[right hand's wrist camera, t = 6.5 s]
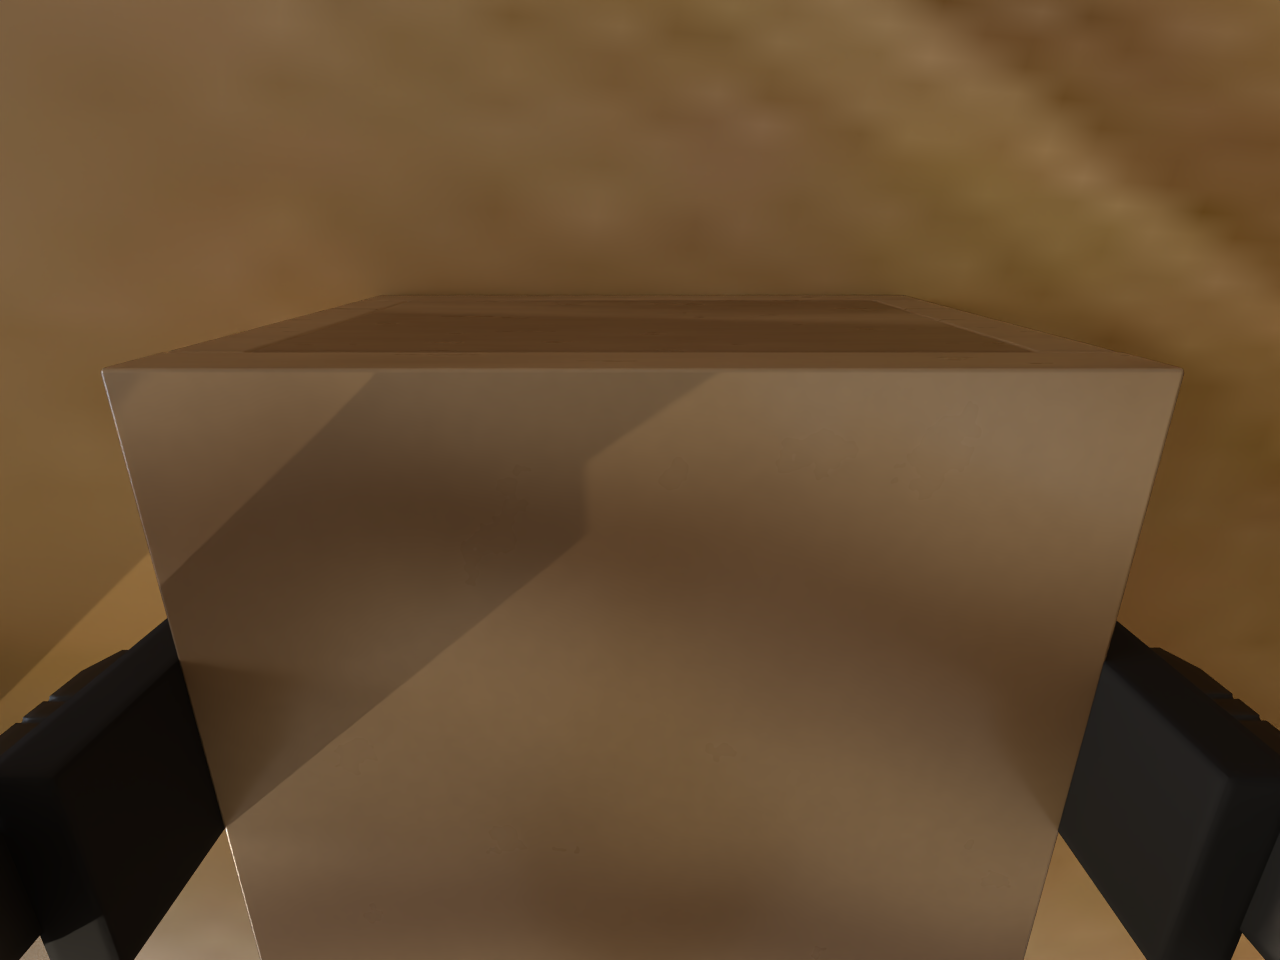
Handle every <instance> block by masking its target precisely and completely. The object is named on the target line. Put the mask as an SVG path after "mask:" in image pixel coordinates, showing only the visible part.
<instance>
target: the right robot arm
mask: <svg viewBox="0 0 1280 960" xmlns="http://www.w3.org/2000/svg"><path fill="white" fill-rule="evenodd" d="M224 829H225V827H224V824H223V820H222V816H221V813H220V809H219V805H218V802H217V798H216V794H215V791H214V787H213V783H212V780H211V776H210V772H209V769H208V765H207V761H206V758H205V754H204V750H203V747H202V743H201V739H200V736H199V732H198V728H197V725H196V721H195V717H194V714H193V710H192V706H191V702H190V699H189V695H188V691H187V688H186V684H185V680H184V677H183V673H182V669H181V666H180V662H179V658H178V655H177V651H176V647H175V644H174V640H173V636H172V633H171V629H170V625H169V622H168V618H167V619H166V620H164V621H163V622H162V623H161V624H160V625H158V626H157V627H156V628H155V629H154V630H152V631H151V632H150V633H149V634H148V635H146V636H145V637H144V638H143V639H141V640H140V641H139V642H138V643H137V644H135V645H134V646H133V647H132V648H131V649H129V650H121V651H119V652H117V653H115V654H114V655H112V656H110V657H108V658H106V659H104V660H102V661H100V662H98V663H96V664H94V665H92V666H90V667H89V668H87V669H85V670H83V671H81V672H80V673H78V674H77V675H76V676H75V677H73V678H72V679H71V680H70V681H68V682H67V683H66V684H65V685H63V686H62V687H61V688H60V689H58V690H57V691H56V692H54V693H53V694H52V695H51V696H50V699H49V701H43V702H42V703H41V704H39V705H38V706H37V707H36V708H34V709H33V710H32V711H31V712H29V713H28V714H27V715H25V716H24V717H23V721H22V723H15V724H14V725H13V726H12V727H10V728H9V729H8V730H7V731H5V732H4V733H3V734H1V735H0V960H19V959H20V958H21V957H22V956H23V955H24V953H25V952H26V951H27V950H28V949H29V948H30V946H31V945H32V944H33V943H34V942H35V940H36V939H37V938H38V937H39V936H41V939H42V941H43V944H44V946H45V948H46V951H47V953H48V956H49V958H50V960H134V959H135V957H136V956H137V955H138V953H139V952H140V950H141V949H142V947H143V946H144V944H145V943H146V942H147V940H148V939H149V937H150V936H151V934H152V933H153V931H154V930H155V928H156V927H157V926H158V924H159V923H160V921H161V920H162V918H163V917H164V915H165V914H166V913H167V911H168V910H169V908H170V907H171V905H172V904H173V902H174V901H175V900H176V898H177V897H178V895H179V894H180V892H181V891H182V889H183V888H184V887H185V885H186V884H187V882H188V881H189V879H190V878H191V876H192V875H193V874H194V872H195V871H196V869H197V868H198V866H199V865H200V863H201V862H202V861H203V859H204V858H205V856H206V855H207V853H208V852H209V850H210V849H211V848H212V846H213V845H214V843H215V842H216V840H217V839H218V837H219V836H220V835H221V833H222V832H223V830H224ZM1058 832H1059V833H1060V835H1061V836H1062V838H1063V839H1064V841H1065V842H1066V843H1067V845H1068V846H1069V848H1070V849H1071V851H1072V852H1073V854H1074V855H1075V856H1076V858H1077V859H1078V861H1079V862H1080V864H1081V865H1082V867H1083V868H1084V869H1085V871H1086V872H1087V874H1088V875H1089V877H1090V878H1091V880H1092V881H1093V882H1094V884H1095V885H1096V887H1097V888H1098V890H1099V891H1100V893H1101V894H1102V895H1103V897H1104V898H1105V900H1106V901H1107V903H1108V904H1109V906H1110V907H1111V909H1112V910H1113V911H1114V913H1115V914H1116V916H1117V917H1118V919H1119V920H1120V922H1121V923H1122V924H1123V926H1124V927H1125V929H1126V930H1127V932H1128V933H1129V935H1130V936H1131V937H1132V939H1133V940H1134V942H1135V943H1136V945H1137V946H1138V948H1139V949H1140V950H1141V952H1142V953H1143V955H1144V956H1145V958H1146V959H1147V960H1231V958H1232V956H1233V954H1234V951H1235V949H1236V946H1237V944H1238V942H1239V939H1240V937H1241V934H1242V933H1243V934H1244V935H1245V937H1246V938H1247V939H1248V940H1249V941H1250V942H1251V944H1252V945H1253V946H1254V947H1255V948H1256V949H1257V951H1258V952H1259V953H1260V954H1261V955H1262V956H1263V958H1264V959H1265V960H1280V731H1279V730H1278V729H1276V728H1275V727H1274V726H1273V725H1271V724H1270V723H1269V722H1267V721H1261V720H1260V718H1259V714H1257V713H1256V712H1255V711H1253V710H1252V709H1251V708H1250V707H1248V706H1247V705H1246V704H1245V703H1243V702H1242V701H1241V700H1240V699H1233V696H1232V693H1231V692H1229V691H1228V690H1227V689H1226V688H1224V687H1223V686H1222V685H1220V684H1219V683H1218V682H1217V681H1215V680H1214V679H1213V678H1212V677H1210V676H1209V675H1208V674H1206V673H1205V672H1204V671H1203V670H1201V669H1200V668H1198V667H1196V666H1194V665H1192V664H1190V663H1188V662H1186V661H1184V660H1182V659H1180V658H1178V657H1177V656H1175V655H1173V654H1171V653H1169V652H1167V651H1165V650H1163V649H1161V648H1149V647H1148V646H1147V645H1146V644H1144V643H1143V642H1142V641H1141V640H1139V639H1138V638H1137V637H1136V636H1135V635H1133V634H1132V633H1131V632H1130V631H1129V630H1127V629H1126V628H1125V627H1124V626H1122V625H1121V624H1120V623H1119V622H1118V621H1116V624H1115V627H1114V631H1113V635H1112V638H1111V642H1110V646H1109V649H1108V653H1107V657H1106V660H1105V661H1104V663H1103V667H1102V671H1101V674H1100V678H1099V682H1098V685H1097V689H1096V693H1095V696H1094V700H1093V704H1092V707H1091V711H1090V715H1089V718H1088V722H1087V726H1086V729H1085V733H1084V737H1083V740H1082V744H1081V748H1080V751H1079V755H1078V759H1077V762H1076V766H1075V770H1074V773H1073V777H1072V780H1071V784H1070V788H1069V791H1068V795H1067V799H1066V802H1065V806H1064V810H1063V813H1062V817H1061V821H1060V824H1059V828H1058Z"/></svg>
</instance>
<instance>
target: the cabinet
mask: <svg viewBox="0 0 1280 960" xmlns="http://www.w3.org/2000/svg"><path fill="white" fill-rule="evenodd" d="M101 375H102V379H103V383H104V386H105V390H106V394H107V397H108V401H109V405H110V408H111V412H112V416H113V419H114V423H115V427H116V431H117V434H118V438H119V442H120V445H121V449H122V453H123V456H124V460H125V464H126V467H127V471H128V475H129V478H130V482H131V486H132V489H133V493H134V497H135V500H136V504H137V508H138V511H139V515H140V519H141V522H142V526H143V530H144V533H145V537H146V541H147V544H148V548H149V552H150V555H151V559H152V563H153V567H154V570H155V574H156V578H157V581H158V585H159V589H160V592H161V596H162V600H163V603H164V607H165V611H166V614H167V618H168V622H169V625H170V629H171V633H172V636H173V640H174V644H175V647H176V651H177V655H178V658H179V662H180V666H181V669H182V673H183V677H184V680H185V684H186V688H187V691H188V695H189V699H190V702H191V706H192V710H193V714H194V717H195V721H196V725H197V728H198V732H199V736H200V739H201V743H202V747H203V750H204V754H205V758H206V761H207V765H208V769H209V772H210V776H211V780H212V783H213V787H214V791H215V794H216V798H217V802H218V805H219V809H220V813H221V816H222V820H223V824H224V827H225V831H226V835H227V838H228V842H229V846H230V849H231V853H232V857H233V861H234V864H235V868H236V872H237V875H238V879H239V883H240V886H241V890H242V894H243V897H244V901H245V905H246V908H247V912H248V916H249V919H250V923H251V927H252V930H253V934H254V938H255V941H256V945H257V949H258V952H259V956H260V960H1024V956H1025V952H1026V949H1027V945H1028V941H1029V938H1030V934H1031V931H1032V927H1033V923H1034V920H1035V916H1036V912H1037V909H1038V905H1039V901H1040V898H1041V894H1042V890H1043V887H1044V883H1045V879H1046V876H1047V872H1048V868H1049V865H1050V861H1051V857H1052V854H1053V850H1054V846H1055V843H1056V839H1057V836H1058V828H1059V824H1060V821H1061V817H1062V813H1063V810H1064V806H1065V802H1066V799H1067V795H1068V791H1069V788H1070V784H1071V780H1072V777H1073V773H1074V770H1075V766H1076V762H1077V759H1078V755H1079V751H1080V748H1081V744H1082V740H1083V737H1084V733H1085V729H1086V726H1087V722H1088V718H1089V715H1090V711H1091V707H1092V704H1093V700H1094V696H1095V693H1096V689H1097V685H1098V682H1099V678H1100V674H1101V671H1102V667H1103V663H1104V661H1105V660H1106V657H1107V653H1108V649H1109V646H1110V642H1111V638H1112V635H1113V631H1114V627H1115V624H1116V620H1117V616H1118V613H1119V609H1120V605H1121V602H1122V598H1123V594H1124V591H1125V587H1126V583H1127V580H1128V576H1129V572H1130V569H1131V565H1132V562H1133V558H1134V554H1135V551H1136V547H1137V543H1138V540H1139V536H1140V532H1141V529H1142V525H1143V521H1144V518H1145V514H1146V510H1147V507H1148V503H1149V499H1150V496H1151V492H1152V488H1153V485H1154V481H1155V478H1156V474H1157V470H1158V467H1159V463H1160V459H1161V456H1162V452H1163V448H1164V445H1165V441H1166V437H1167V434H1168V430H1169V426H1170V423H1171V419H1172V415H1173V412H1174V408H1175V404H1176V401H1177V397H1178V393H1179V390H1180V386H1181V383H1182V379H1183V375H1184V370H1183V369H1182V368H1179V367H1176V366H1172V365H1168V364H1164V363H1161V362H1157V361H1153V360H1149V359H1145V358H1142V357H1138V356H1134V355H1130V354H1126V353H1123V352H1114V351H1112V350H1109V349H1105V348H1101V347H1097V346H1093V345H1090V344H1086V343H1082V342H1078V341H1074V340H1071V339H1067V338H1063V337H1059V336H1055V335H1052V334H1048V333H1044V332H1040V331H1036V330H1033V329H1029V328H1025V327H1021V326H1018V325H1014V324H1010V323H1006V322H1002V321H999V320H995V319H991V318H987V317H983V316H980V315H976V314H972V313H968V312H964V311H961V310H957V309H953V308H949V307H945V306H942V305H938V304H934V303H930V302H927V301H923V300H919V299H915V298H911V297H908V296H904V295H605V296H376V297H373V298H369V299H365V300H361V301H357V302H354V303H350V304H346V305H342V306H339V307H335V308H331V309H327V310H323V311H320V312H316V313H312V314H308V315H304V316H301V317H297V318H293V319H289V320H286V321H282V322H278V323H274V324H270V325H267V326H263V327H259V328H255V329H251V330H248V331H244V332H240V333H236V334H233V335H229V336H225V337H221V338H217V339H214V340H210V341H206V342H202V343H198V344H195V345H191V346H187V347H183V348H180V349H176V350H172V351H170V352H168V353H158V354H154V355H151V356H147V357H143V358H139V359H135V360H132V361H128V362H124V363H120V364H116V365H113V366H109V367H105V368H103V369H102V370H101Z"/></svg>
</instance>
